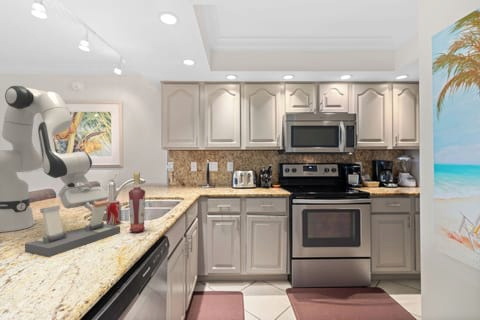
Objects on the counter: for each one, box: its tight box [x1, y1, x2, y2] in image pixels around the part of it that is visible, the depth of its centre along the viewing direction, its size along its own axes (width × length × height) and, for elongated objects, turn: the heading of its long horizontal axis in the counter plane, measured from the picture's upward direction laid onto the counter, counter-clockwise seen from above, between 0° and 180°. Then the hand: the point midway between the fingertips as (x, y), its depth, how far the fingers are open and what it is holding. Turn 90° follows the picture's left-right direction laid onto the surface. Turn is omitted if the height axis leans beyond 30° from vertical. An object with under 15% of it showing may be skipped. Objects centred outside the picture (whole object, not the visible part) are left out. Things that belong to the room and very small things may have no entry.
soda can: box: [105, 200, 122, 226], centre depth 134 cm, size 7×7×12 cm
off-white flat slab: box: [88, 200, 109, 230], centre depth 113 cm, size 2×6×13 cm, turn 158°
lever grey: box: [39, 205, 64, 241], centre depth 99 cm, size 2×6×13 cm, turn 158°
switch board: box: [24, 221, 121, 258], centre depth 106 cm, size 14×31×5 cm, turn 158°
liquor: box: [128, 171, 146, 234], centre depth 120 cm, size 7×7×28 cm
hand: (95, 210), depth 114 cm, fingers closed
